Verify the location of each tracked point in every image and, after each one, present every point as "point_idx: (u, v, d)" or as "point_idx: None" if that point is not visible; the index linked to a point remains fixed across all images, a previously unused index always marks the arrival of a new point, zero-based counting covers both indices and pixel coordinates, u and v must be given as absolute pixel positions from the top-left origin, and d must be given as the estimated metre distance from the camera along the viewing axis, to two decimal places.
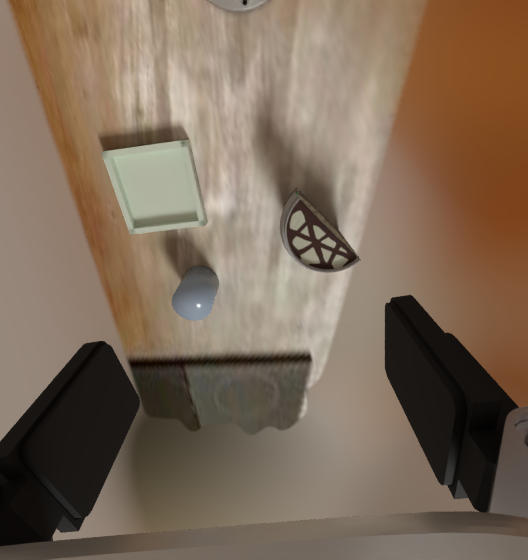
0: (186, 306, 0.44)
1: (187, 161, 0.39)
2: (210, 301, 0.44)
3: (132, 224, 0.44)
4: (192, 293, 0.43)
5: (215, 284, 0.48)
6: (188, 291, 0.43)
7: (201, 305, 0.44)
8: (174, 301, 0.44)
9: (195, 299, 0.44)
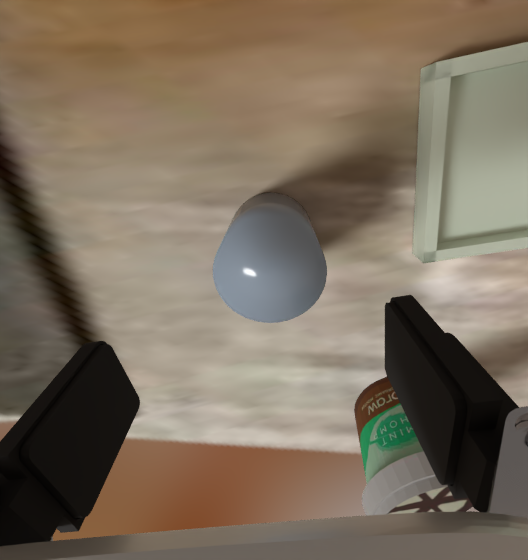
0: (258, 260, 0.15)
1: None
2: (279, 319, 0.17)
3: (461, 74, 0.16)
4: (304, 279, 0.15)
5: None
6: (310, 269, 0.15)
7: (266, 299, 0.16)
8: (275, 227, 0.14)
9: (285, 285, 0.16)
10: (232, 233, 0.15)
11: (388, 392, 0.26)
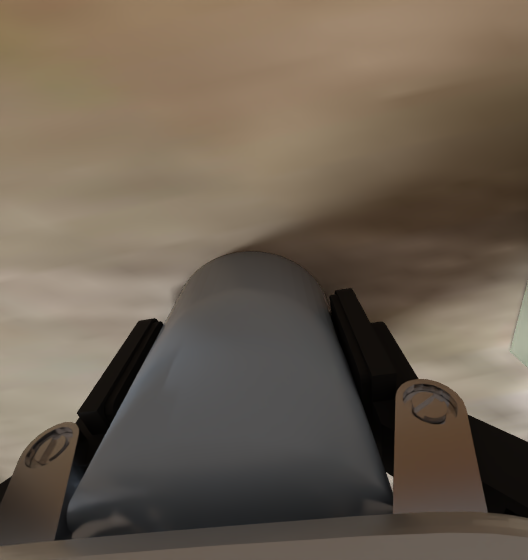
0: (200, 519, 0.05)
1: None
2: None
3: None
4: None
5: None
6: None
7: None
8: (247, 457, 0.04)
9: None
10: (105, 466, 0.04)
11: None
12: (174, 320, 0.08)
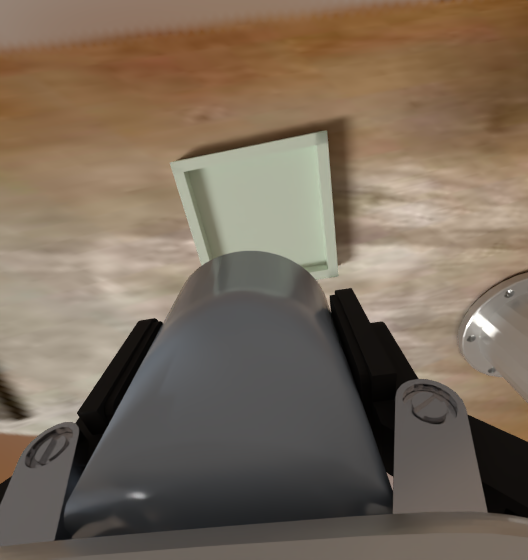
0: (198, 521, 0.05)
1: None
2: None
3: (191, 169, 0.22)
4: None
5: None
6: None
7: None
8: (246, 458, 0.04)
9: None
10: (102, 467, 0.04)
11: None
12: (173, 319, 0.08)
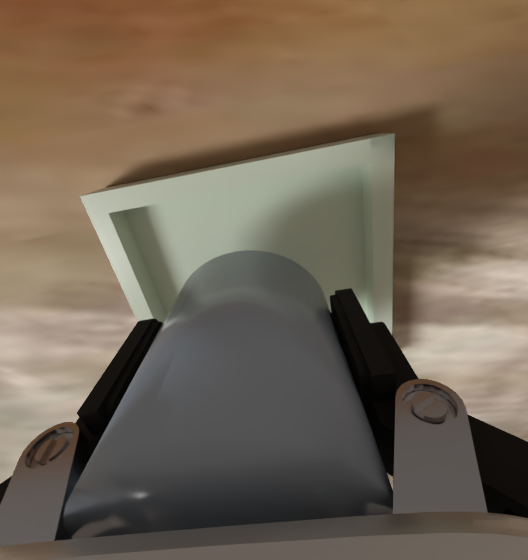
0: (198, 520, 0.05)
1: None
2: None
3: (125, 208, 0.11)
4: None
5: None
6: None
7: None
8: (245, 457, 0.04)
9: None
10: (102, 467, 0.04)
11: None
12: (173, 319, 0.08)
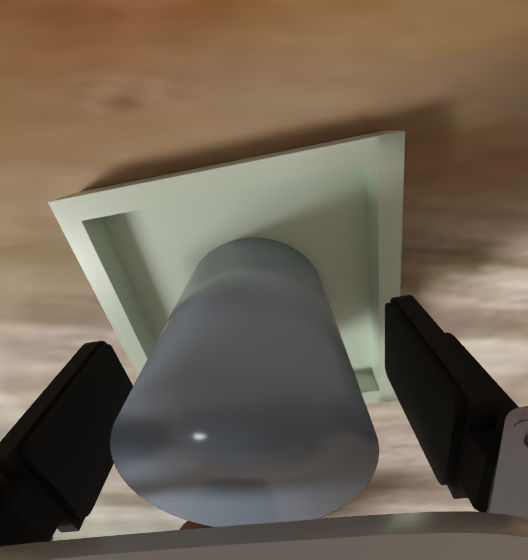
0: (216, 439, 0.06)
1: None
2: None
3: (100, 215, 0.10)
4: (326, 469, 0.07)
5: None
6: (341, 453, 0.06)
7: (241, 499, 0.07)
8: (255, 380, 0.05)
9: (281, 478, 0.07)
10: (145, 390, 0.06)
11: None
12: (189, 292, 0.09)
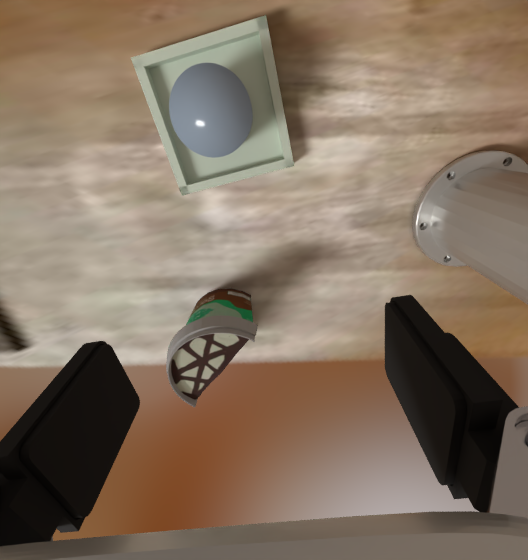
0: (201, 99, 0.21)
1: (267, 167, 0.29)
2: (223, 153, 0.23)
3: (151, 64, 0.25)
4: (236, 114, 0.21)
5: None
6: (239, 104, 0.21)
7: (211, 135, 0.22)
8: (209, 69, 0.20)
9: (223, 120, 0.22)
10: (179, 77, 0.20)
11: (202, 301, 0.36)
12: None
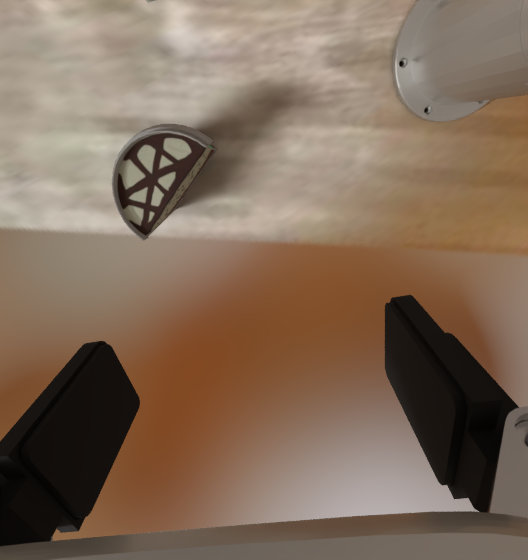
0: None
1: None
2: None
3: None
4: None
5: None
6: None
7: None
8: None
9: None
10: None
11: None
12: None
